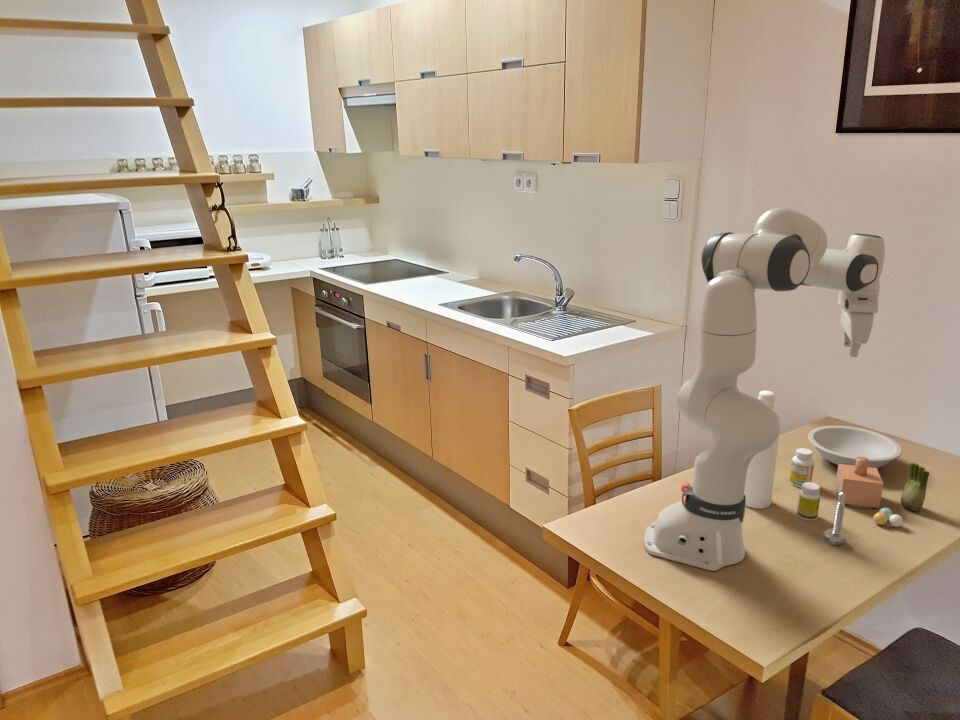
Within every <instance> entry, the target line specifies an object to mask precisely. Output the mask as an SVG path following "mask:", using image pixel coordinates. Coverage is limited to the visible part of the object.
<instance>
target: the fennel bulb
mask: <svg viewBox="0 0 960 720" xmlns="http://www.w3.org/2000/svg"><path fill="white" fill-rule="evenodd" d="M919 464H920V463H917V462H915V461H911V462H910V465H909V472H908V477H907V479H906V482H905V485H904V487H903V492H902V493H901V494H902V495H901V496H900V497H901V498H900V504H901V505H902V507H904V508H905V509H907V510H909V511H913V512H919V511H921V509H922V508H923V506H924V503H925V499H926V493H927V485H928V480H929V475H930V470H927V469H926V467H925V466H920V465H919Z"/></svg>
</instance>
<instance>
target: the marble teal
mask: <svg viewBox="0 0 960 720" xmlns="http://www.w3.org/2000/svg"><path fill="white" fill-rule="evenodd" d="M878 512H881V513H884V514H885V515H886V516H887V518H888V520H887V521H889V517H890V516H891V515H893V511H892V510H891V509H890V508H888V507H881V508H880V509H879V510H878Z"/></svg>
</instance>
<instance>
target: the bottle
mask: <svg viewBox="0 0 960 720" xmlns="http://www.w3.org/2000/svg"><path fill="white" fill-rule="evenodd" d="M757 399H758V400H760V401H761V402H763V403H764V404H765V405H767V406H768V407H769V408H771V409H772V410H773V411H774V406H775V401H776V394H775V393H774V391H770V390H760V392H759V394H758V397H757ZM779 438H780V433H779V434H778V437H777V439H776V440H775V442H774V443H773V444H772V445H771V446H770V447H769V448H767V449H766V450H764V451H762V452H759V453H757V454H756V455H755V456H754V457H753V459H752V460H751V462H750V464H749V467H748V471H747V477H746V484H745V491H744V494H745V500H746V507H749V508H752V509H759V510H760V509H766V508H769V507H770V506H771V504H772V498H773V488H774V480H775V472H776V463H777V457H778V456H777V455H778V447H779V442H780V441H779V440H780V439H779Z"/></svg>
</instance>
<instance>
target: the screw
mask: <svg viewBox="0 0 960 720" xmlns="http://www.w3.org/2000/svg"><path fill="white" fill-rule="evenodd" d="M844 501H845V494H844V493H843V492H842V493H840V494H839V498H838V500H837V501H836V504H835V505H836V506H835V511H834V512H835V513H834V518H833V523H832V528H828V529H826V530H825V531H824V533H823V534H824V536H825V537H826V538H828V543H829V544H831V545H833V546H841V543H842V542H845V541H847V540H848V538H849V536H848V534H847V533H846V532H844V531H843V530H842V528H843V520H844V515H845V514H844V513H845V508H846V505H845V502H844Z"/></svg>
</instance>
